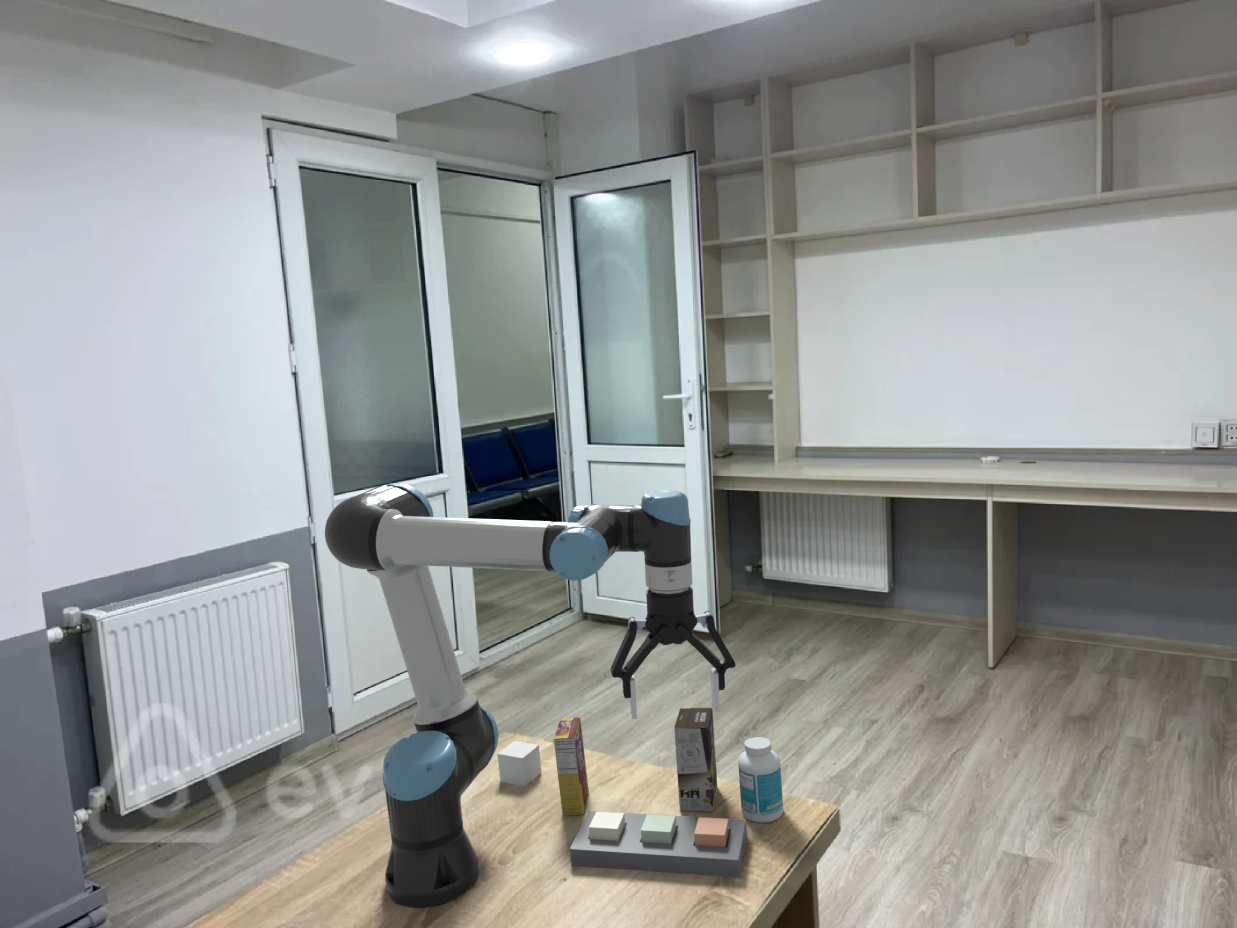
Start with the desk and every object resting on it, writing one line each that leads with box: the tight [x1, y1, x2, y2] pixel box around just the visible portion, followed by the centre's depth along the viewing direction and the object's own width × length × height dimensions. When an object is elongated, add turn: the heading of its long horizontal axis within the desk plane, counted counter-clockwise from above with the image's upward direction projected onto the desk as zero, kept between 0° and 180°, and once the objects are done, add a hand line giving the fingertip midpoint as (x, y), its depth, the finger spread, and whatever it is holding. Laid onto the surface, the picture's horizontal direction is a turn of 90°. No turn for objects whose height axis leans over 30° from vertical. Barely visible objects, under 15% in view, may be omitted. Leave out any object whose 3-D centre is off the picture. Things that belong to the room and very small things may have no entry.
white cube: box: [497, 740, 542, 787], centre depth 185 cm, size 6×6×6 cm
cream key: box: [589, 811, 625, 841], centre depth 157 cm, size 5×5×3 cm
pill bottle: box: [737, 736, 784, 824], centre depth 164 cm, size 8×7×14 cm
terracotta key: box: [694, 816, 729, 848], centre depth 153 cm, size 5×5×3 cm
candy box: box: [553, 717, 590, 816], centre depth 172 cm, size 9×4×15 cm, turn 175°
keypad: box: [569, 810, 748, 878], centre depth 155 cm, size 28×12×3 cm, turn 76°
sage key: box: [641, 813, 677, 844], centre depth 155 cm, size 5×5×3 cm
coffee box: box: [673, 707, 718, 812], centre depth 170 cm, size 9×6×16 cm
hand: (675, 712), depth 151 cm, fingers open, 13 cm apart
